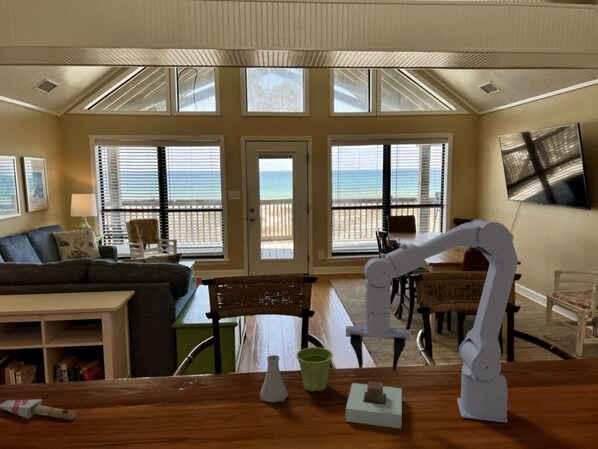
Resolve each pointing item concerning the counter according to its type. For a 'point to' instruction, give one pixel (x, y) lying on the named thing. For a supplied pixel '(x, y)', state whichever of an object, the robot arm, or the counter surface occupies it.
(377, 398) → the walnut peg
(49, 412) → the grey and wooden tool
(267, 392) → the flask
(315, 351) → the plant pot
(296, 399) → the counter surface
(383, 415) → the socket block
